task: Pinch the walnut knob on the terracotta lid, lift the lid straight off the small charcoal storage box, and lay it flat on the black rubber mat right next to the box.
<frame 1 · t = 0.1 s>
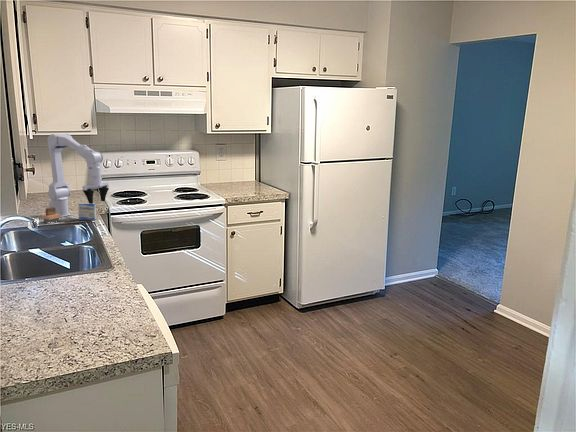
hand: (96, 202, 233), 10 cm above the worktop, tool pointing down, fingers open, 7 cm apart
medicine box: (87, 219, 239), on the worktop, touching rubber mat
storage box: (51, 222, 232), on the worktop
lid: (51, 217, 232), point 2 cm above the worktop, touching storage box
rubber mat: (68, 220, 237), on the worktop
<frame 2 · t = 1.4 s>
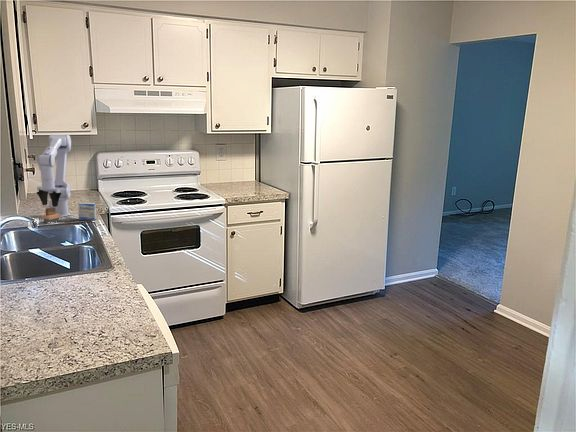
hand: (50, 205, 230), 8 cm above the worktop, tool pointing down, fingers open, 7 cm apart
nothing on the worktop moved.
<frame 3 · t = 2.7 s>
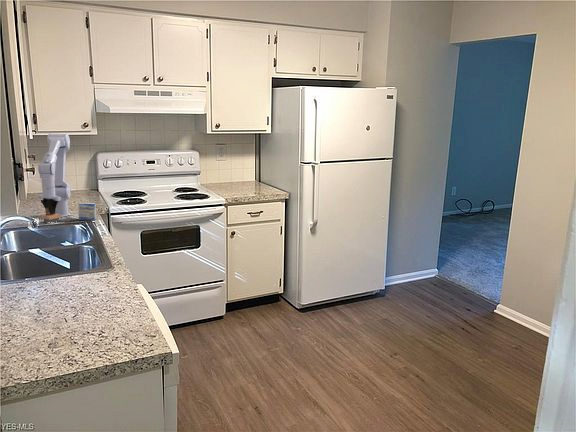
hand: (50, 213, 231), 4 cm above the worktop, tool pointing down, fingers closed on lid
lid: (51, 217, 232), point 2 cm above the worktop, touching gripper, storage box
everything else where it was.
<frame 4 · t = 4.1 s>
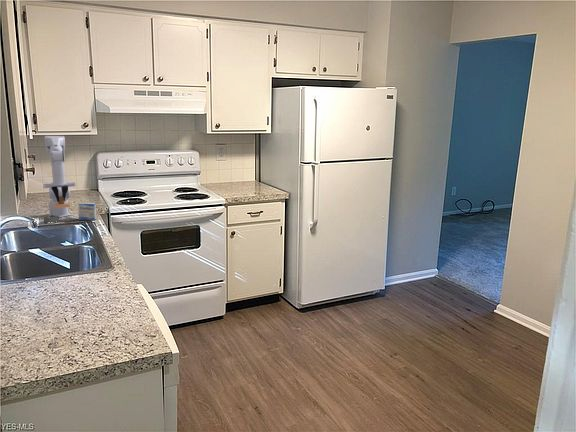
hand: (60, 201, 232), 10 cm above the worktop, tool pointing down, fingers closed on lid
lid: (61, 206, 233), point 8 cm above the worktop, touching gripper
everything else where it was.
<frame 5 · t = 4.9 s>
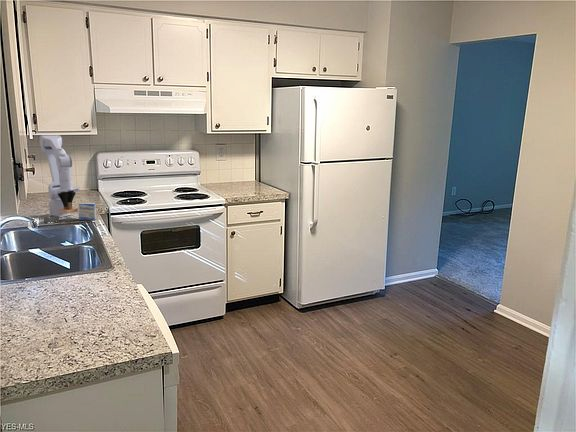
hand: (67, 206, 235), 8 cm above the worktop, tool pointing down, fingers closed on lid
lid: (68, 212, 236), point 4 cm above the worktop, touching gripper
everything else where it was.
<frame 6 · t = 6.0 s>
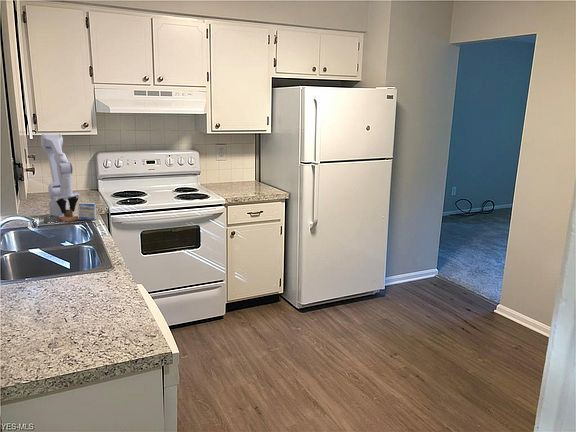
hand: (68, 212, 236), 4 cm above the worktop, tool pointing down, fingers open, 5 cm apart
lid: (68, 219, 236), resting on rubber mat
everything else where it was.
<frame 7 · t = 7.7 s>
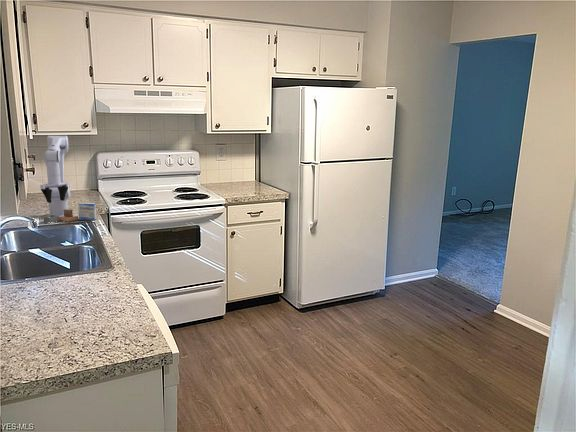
hand: (55, 201, 231), 10 cm above the worktop, tool pointing down, fingers open, 7 cm apart
nothing on the worktop moved.
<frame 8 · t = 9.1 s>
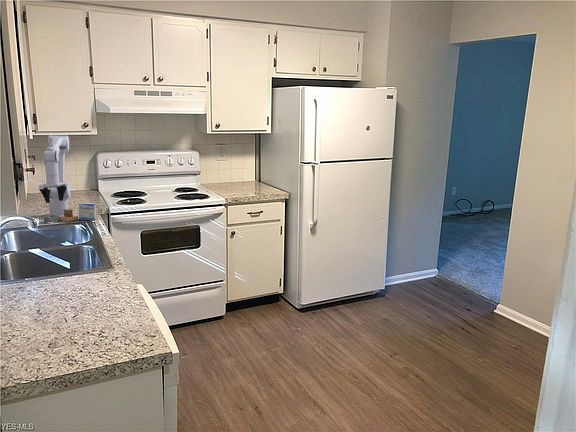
hand: (54, 201, 231), 10 cm above the worktop, tool pointing down, fingers open, 7 cm apart
nothing on the worktop moved.
at the end: lid 0.0 cm from the target spot, resting on rubber mat; lid tilted 0°; the gripper is holding nothing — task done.
